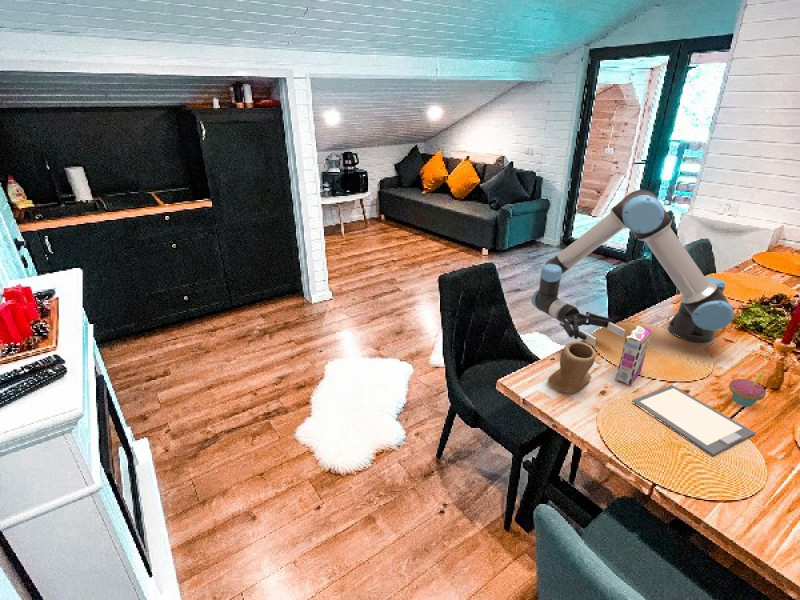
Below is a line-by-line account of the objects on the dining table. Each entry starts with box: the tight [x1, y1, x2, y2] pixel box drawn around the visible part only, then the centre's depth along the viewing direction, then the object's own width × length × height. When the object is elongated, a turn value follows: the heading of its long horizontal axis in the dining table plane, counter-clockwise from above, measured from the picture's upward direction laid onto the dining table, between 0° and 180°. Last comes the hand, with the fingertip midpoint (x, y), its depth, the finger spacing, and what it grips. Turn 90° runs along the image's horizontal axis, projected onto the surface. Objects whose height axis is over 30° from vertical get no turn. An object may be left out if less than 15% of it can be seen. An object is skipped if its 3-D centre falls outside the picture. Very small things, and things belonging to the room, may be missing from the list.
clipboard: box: [631, 384, 756, 457], centre depth 120 cm, size 18×24×2 cm
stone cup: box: [547, 340, 596, 394], centre depth 134 cm, size 15×12×15 cm
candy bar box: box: [614, 325, 653, 386], centre depth 136 cm, size 11×5×16 cm, turn 136°
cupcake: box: [728, 371, 766, 408], centre depth 124 cm, size 9×8×12 cm
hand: (609, 337), depth 144 cm, fingers open, 13 cm apart
